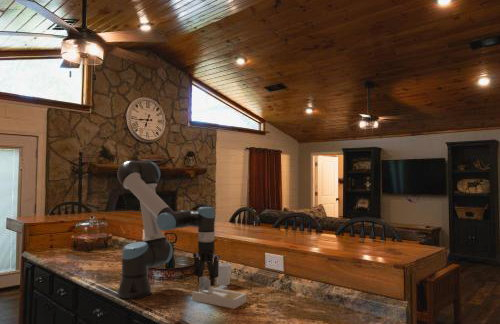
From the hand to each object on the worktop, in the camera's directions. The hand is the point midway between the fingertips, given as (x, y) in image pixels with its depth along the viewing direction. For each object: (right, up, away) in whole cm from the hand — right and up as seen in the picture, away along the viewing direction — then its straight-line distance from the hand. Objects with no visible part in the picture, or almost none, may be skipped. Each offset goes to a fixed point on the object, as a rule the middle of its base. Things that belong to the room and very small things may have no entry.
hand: (206, 292), depth 172 cm
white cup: (+6, -4, +23) cm, 24 cm away
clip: (0, +2, 0) cm, 2 cm away
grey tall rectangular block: (+5, -3, +9) cm, 11 cm away
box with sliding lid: (+6, -3, -4) cm, 8 cm away
